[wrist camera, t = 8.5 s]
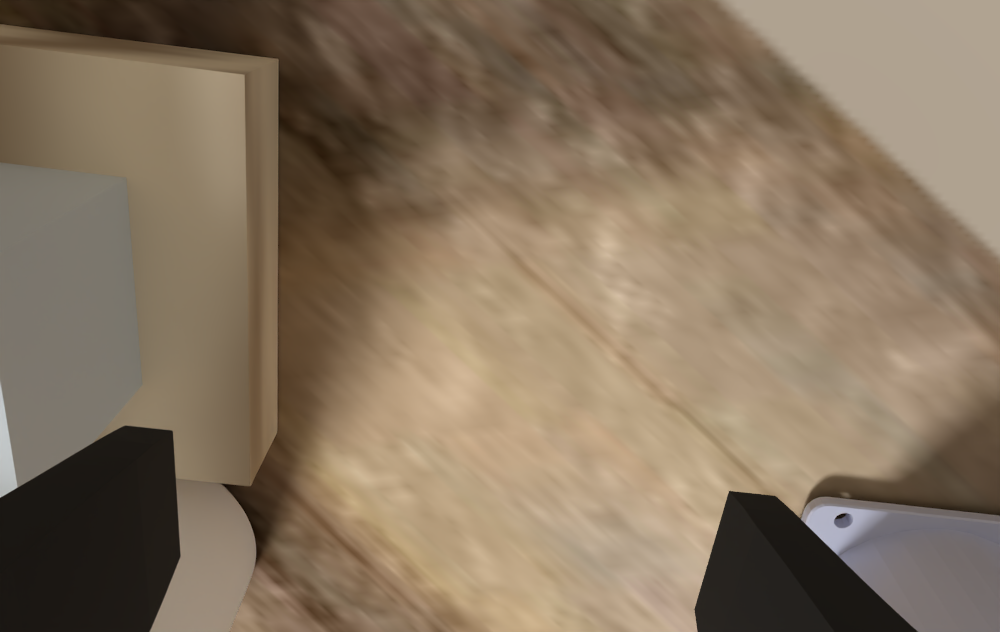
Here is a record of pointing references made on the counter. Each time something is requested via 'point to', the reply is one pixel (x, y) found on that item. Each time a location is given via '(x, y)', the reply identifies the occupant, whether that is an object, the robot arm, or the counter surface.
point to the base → (173, 220)
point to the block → (62, 315)
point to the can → (208, 561)
